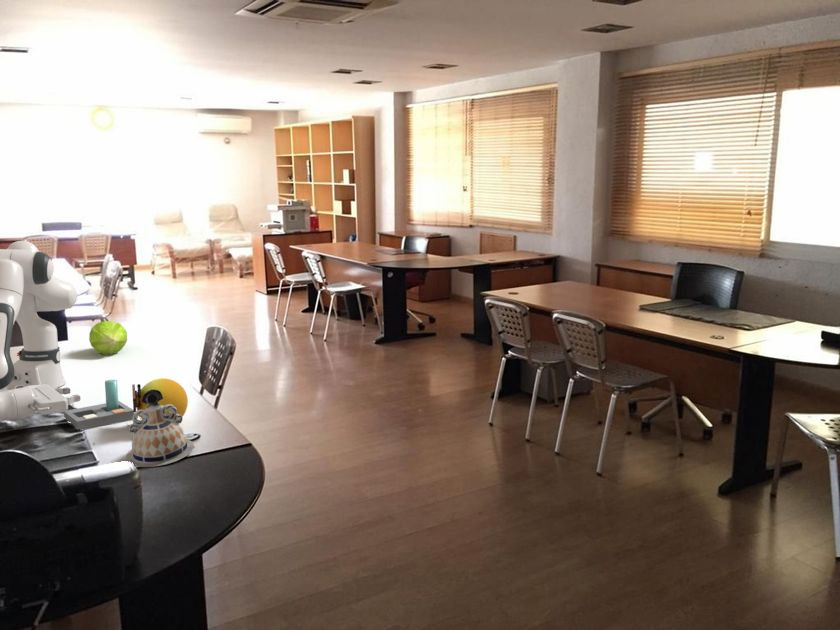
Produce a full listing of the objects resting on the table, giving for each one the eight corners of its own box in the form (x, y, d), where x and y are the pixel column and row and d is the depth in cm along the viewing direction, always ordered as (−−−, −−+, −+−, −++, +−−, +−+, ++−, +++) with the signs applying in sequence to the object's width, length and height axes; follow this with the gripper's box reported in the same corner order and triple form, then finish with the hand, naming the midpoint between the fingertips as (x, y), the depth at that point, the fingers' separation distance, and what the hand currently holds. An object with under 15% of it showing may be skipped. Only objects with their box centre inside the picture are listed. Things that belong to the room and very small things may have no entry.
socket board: (64, 420, 214) (63, 410, 213) (119, 409, 226) (118, 400, 225) (77, 431, 205) (77, 420, 204) (134, 419, 216) (134, 409, 216)
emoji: (134, 420, 215) (131, 375, 213) (186, 415, 221) (184, 371, 219) (134, 437, 201) (132, 388, 198) (190, 431, 207) (188, 383, 204)
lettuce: (134, 353, 298) (96, 362, 290) (125, 343, 317) (89, 351, 309) (128, 322, 294) (89, 329, 286) (119, 313, 313) (82, 320, 305)
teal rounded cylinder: (105, 418, 216) (103, 382, 214) (109, 415, 220) (106, 379, 218) (117, 418, 217) (115, 382, 215) (120, 415, 220) (118, 379, 218)
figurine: (125, 473, 177) (117, 401, 174) (125, 451, 193) (117, 385, 190) (197, 460, 184) (191, 390, 181) (191, 440, 200) (184, 376, 197)
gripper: (33, 401, 192) (85, 392, 201) (14, 384, 206) (63, 376, 216) (35, 422, 193) (86, 412, 202) (16, 404, 207) (64, 395, 217)
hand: (74, 393), depth 209 cm, fingers open, 8 cm apart
